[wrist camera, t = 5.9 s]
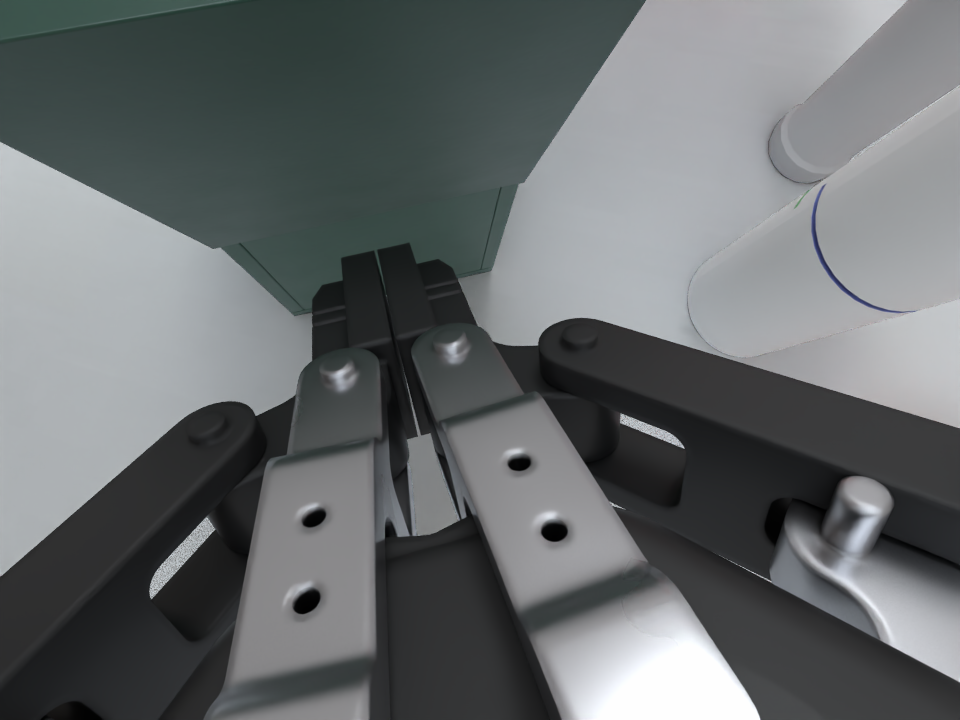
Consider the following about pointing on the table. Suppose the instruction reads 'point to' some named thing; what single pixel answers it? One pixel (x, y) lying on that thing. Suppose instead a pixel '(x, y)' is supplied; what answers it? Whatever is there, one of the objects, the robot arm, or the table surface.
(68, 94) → the lid
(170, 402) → the table surface
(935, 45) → the bottle
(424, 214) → the tin
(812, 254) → the cylindrical container
